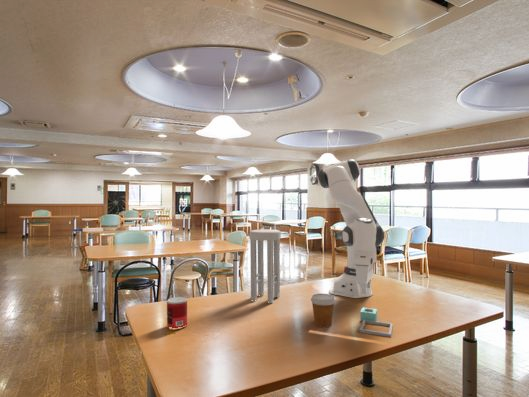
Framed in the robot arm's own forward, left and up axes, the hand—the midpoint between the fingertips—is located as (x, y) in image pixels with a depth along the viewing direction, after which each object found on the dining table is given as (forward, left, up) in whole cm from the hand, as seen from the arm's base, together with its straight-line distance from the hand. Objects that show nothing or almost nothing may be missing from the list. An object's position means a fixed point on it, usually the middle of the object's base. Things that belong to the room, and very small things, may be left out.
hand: (366, 290), depth 137 cm
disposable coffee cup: (-15, -13, -13) cm, 24 cm away
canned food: (-69, -36, -13) cm, 79 cm away
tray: (+5, -10, -13) cm, 17 cm away
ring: (+1, 0, -12) cm, 12 cm away
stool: (-51, +11, -13) cm, 54 cm away
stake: (+1, 0, -13) cm, 13 cm away
